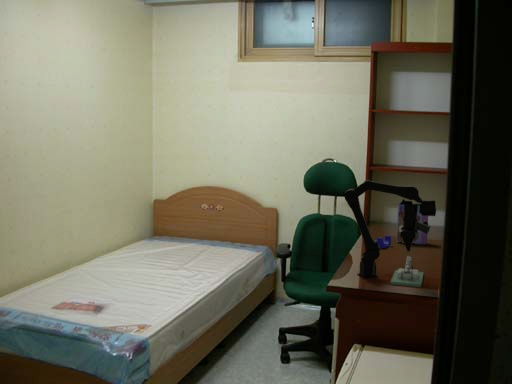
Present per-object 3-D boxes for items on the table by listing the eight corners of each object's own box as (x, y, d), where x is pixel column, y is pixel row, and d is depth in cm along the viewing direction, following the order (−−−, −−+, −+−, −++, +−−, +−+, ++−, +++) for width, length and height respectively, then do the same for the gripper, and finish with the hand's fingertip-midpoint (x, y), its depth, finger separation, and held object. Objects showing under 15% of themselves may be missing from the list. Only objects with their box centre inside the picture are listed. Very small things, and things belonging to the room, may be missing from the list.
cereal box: (396, 243, 323) (398, 203, 321) (396, 241, 328) (398, 202, 326) (427, 244, 319) (428, 204, 318) (426, 243, 324) (427, 203, 322)
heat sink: (416, 280, 222) (416, 272, 222) (396, 278, 225) (397, 270, 224) (418, 274, 234) (418, 266, 234) (399, 272, 237) (399, 264, 237)
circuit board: (420, 287, 216) (421, 284, 216) (390, 284, 220) (390, 281, 220) (423, 274, 238) (423, 272, 238) (395, 272, 242) (395, 269, 242)
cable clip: (384, 249, 302) (384, 238, 302) (376, 248, 305) (377, 237, 305) (393, 246, 312) (393, 236, 311) (385, 245, 314) (386, 235, 314)
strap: (410, 274, 223) (410, 272, 223) (403, 273, 224) (403, 271, 223) (412, 258, 234) (412, 256, 233) (405, 257, 234) (405, 255, 234)
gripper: (429, 218, 218) (427, 256, 219) (430, 214, 236) (428, 249, 237) (401, 217, 222) (399, 254, 223) (404, 212, 239) (402, 247, 240)
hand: (408, 251), depth 231 cm, fingers closed
